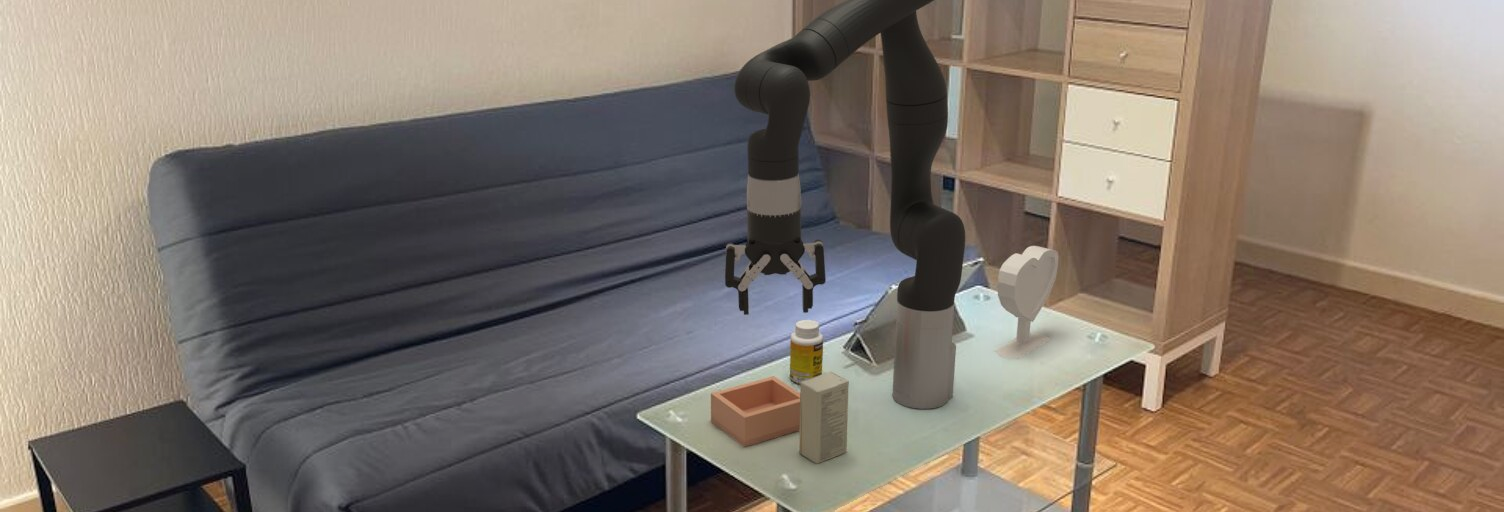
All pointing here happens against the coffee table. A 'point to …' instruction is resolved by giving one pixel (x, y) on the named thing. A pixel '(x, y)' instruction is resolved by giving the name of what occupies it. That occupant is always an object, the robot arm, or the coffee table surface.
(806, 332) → the supplement bottle
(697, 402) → the coffee table surface
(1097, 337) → the coffee table surface
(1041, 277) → the heart sculpture
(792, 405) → the box
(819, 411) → the skincare box
